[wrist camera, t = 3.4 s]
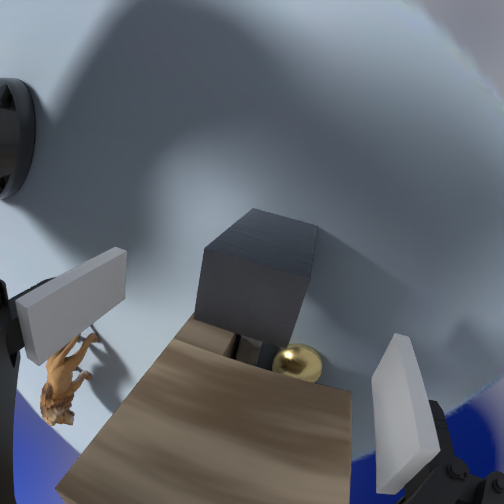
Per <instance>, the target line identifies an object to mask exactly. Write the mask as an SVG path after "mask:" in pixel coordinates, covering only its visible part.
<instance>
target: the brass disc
mask: <svg viewBox="0 0 504 504" xmlns="http://www.w3.org/2000/svg"><path fill="white" fill-rule="evenodd" d="M272 370H273V372H275V373H279V374H282V375H286V376H290V377H293V378H297V379H301V380H304V381H308V382H312V383H315V382H316V381H317V380H318V379H319V377H320V375H321V372H322V359H321V356H320V354H319V353H318V352H317V351H316V350H315V349H314V348H312V347H310V346H308V345H304V344H290V345H288V347H287V349H286V348H281V349H280V350H279V351H278V352H277V353H276V355H275V358H274V361H273V365H272Z"/></svg>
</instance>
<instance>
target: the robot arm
mask: <svg viewBox="0 0 504 504" xmlns="http://www.w3.org/2000/svg"><path fill="white" fill-rule="evenodd" d="M34 139H35V116H34V108H33V103H32V99H31V96H30V93H29V91H28V89H27V87H26V86H25V84H24V83H23V82H21V81H20V80H18V79H15V78H0V199H3V198H7V197H10V196H12V195H13V194H15V193H16V192H17V191H18V189H19V188H20V187H21V185H22V184H23V182H24V180H25V178H26V175H27V173H28V170H29V167H30V163H31V159H32V154H33V148H34ZM126 263H127V251H126V250H123V249H120V248H118V247H114V248H112V249H110V250H108V251H106V252H104V253H102V254H100V255H98V256H96V257H94V258H92V259H90V260H88V261H86V262H84V263H82V264H80V265H78V266H76V267H74V268H73V269H71V270H69V271H67V272H65V273H63V274H61V275H59V276H58V277H54V278H50V279H46V280H44V281H42V282H40V283H38V284H37V285H34V286H33V287H31V288H30V289H27V290H25V291H24V292H22V293H20V294H18V295H16V296H15V297H13V298H11V299H9V300H8V295H7V289H6V284H5V282H4V281H2V280H0V504H16V500H15V496H14V484H13V483H14V482H13V424H14V423H13V422H14V407H15V397H16V387H17V379H18V371H19V364H20V351H19V350H20V349H22V348H23V347H24V346H25V351H26V354H27V358H29V359H30V360H31V361H33V362H34V363H35V364H37V365H38V366H40V365H41V364H43V363H44V362H45V361H46V360H47V359H49V358H50V357H51V356H52V355H54V354H55V353H56V352H57V351H59V350H60V349H61V348H62V347H64V346H65V345H66V344H67V343H69V342H70V341H71V340H72V339H74V338H75V337H76V336H77V335H79V334H80V333H81V332H83V331H84V330H85V329H86V328H88V327H89V326H90V325H92V324H93V323H94V322H95V321H97V320H98V319H99V318H101V317H102V316H103V315H104V314H106V313H107V312H108V311H110V310H111V309H112V308H114V307H115V306H116V305H117V304H119V303H120V302H121V301H123V300H124V299H125V285H126ZM371 384H372V395H373V408H374V423H375V444H376V493H381V494H393V495H395V494H396V493H398V492H399V491H400V490H401V489H402V488H403V487H404V488H405V496H404V497H402V498H401V499H400V500H399V501H397V502H396V503H395V504H504V474H503V473H501V472H498V471H495V472H491V473H490V474H489V475H488V476H487V477H486V478H485V479H483V478H480V477H477V476H474V475H471V474H470V472H469V468H468V467H467V465H466V464H465V463H464V462H463V461H462V460H461V459H459V458H457V457H455V454H454V450H453V446H452V442H451V438H450V434H449V431H448V430H447V429H448V427H447V423H446V422H445V421H446V419H445V416H444V412H443V410H442V408H441V407H440V406H439V404H438V403H437V401H432V400H428V397H427V393H426V390H425V386H424V383H423V379H422V376H421V372H420V369H419V366H418V362H417V359H416V356H415V353H414V350H413V347H412V344H411V341H410V338H409V336H405V335H401V334H397V333H394V335H393V337H392V339H391V341H390V343H389V345H388V347H387V349H386V351H385V353H384V355H383V357H382V359H381V361H380V363H379V365H378V367H377V368H376V370H375V372H374V374H373V376H372V377H371Z"/></svg>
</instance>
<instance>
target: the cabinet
mask: <svg viewBox="0 0 504 504" xmlns="http://www.w3.org/2000/svg"><path fill="white" fill-rule="evenodd" d="M236 337H237V334H236V333H233V332H230V331H227V330H224V329H221V328H218V327H215V326H212V325H209V324H206V323H203V322H200V321H198V320H195V319H194V313H193V314H192V316H191V317H190V318H189V319H188V321H187V322H186V323H185V324H184V326H183V327H182V328H181V329H180V331H179V332H178V333H177V334H176V336H175V337H174V338H173V339H172V341H171V342H170V343H169V344H168V346H167V347H166V348H165V349H164V351H163V352H162V353H161V354H160V356H159V357H158V358H157V359H156V361H155V362H154V363H153V364H152V366H151V367H150V368H149V369H148V371H147V372H146V373H145V374H144V376H143V377H142V378H141V379H140V381H139V382H138V383H137V384H136V386H135V387H134V388H133V390H132V391H131V392H130V393H129V395H128V396H127V397H126V398H125V400H124V401H123V402H122V403H121V405H120V406H119V407H118V408H117V410H116V411H115V412H114V413H113V415H112V416H111V417H110V419H109V420H108V421H107V422H106V424H105V425H104V426H103V427H102V429H101V430H100V431H99V432H98V434H97V435H96V436H95V438H94V439H93V440H92V441H91V443H90V444H89V445H88V446H87V448H86V449H85V450H84V451H83V453H82V454H81V455H80V457H79V458H78V459H77V460H76V462H75V463H74V464H73V466H72V467H71V468H70V470H69V471H68V472H67V473H66V474H65V476H64V477H63V478H62V480H61V481H60V482H59V483H58V485H57V486H56V487H55V489H56V491H57V492H58V494H59V495H60V497H61V498H62V499H63V501H64V502H65V503H66V504H349V497H350V478H351V447H352V399H351V392H349V391H345V390H341V389H336V388H332V387H328V386H324V385H320V384H316V383H312V382H308V381H304V380H301V379H297V378H293V377H290V376H286V375H282V374H279V373H275V372H272V371H269V370H265V369H262V368H259V367H255V366H252V365H249V364H246V363H243V362H239V361H236V360H233V359H231V358H232V353H233V349H234V345H235V341H236Z"/></svg>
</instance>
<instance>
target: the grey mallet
mask: <svg viewBox="0 0 504 504" xmlns="http://www.w3.org/2000/svg"><path fill="white" fill-rule="evenodd" d="M317 228H318V226H316V225H312V224H309V223H305V222H302V221H298V220H294V219H291V218H287V217H283V216H280V215H276V214H272V213H269V212H265V211H261V210H257V209H254V208H253V209H252V210H250V211H249V212H248V213H247V214H245V215H244V216H243V217H242V218H241V219H239V220H238V221H237V222H236V223H234V224H233V225H232V226H231V227H230V228H228V229H227V230H226V231H225V232H223V233H222V234H221V235H220V236H219V237H217V238H216V239H215V240H214V241H213V242H211V243H210V244H209V245H208V246H207V247H205V248H204V254H203V261H202V267H201V273H200V279H199V286H198V292H197V299H196V305H195V312H194V319H195V320H198V321H200V322H203V323H206V324H209V325H212V326H215V327H218V328H221V329H224V330H227V331H230V332H233V333H236V334H240V335H241V339H240V343H239V347H238V352H237V356H236V361H239V362H243V363H246V364H249V365H252V366H255V367H256V364H257V360H258V357H259V354H260V350H261V347H262V344H263V342H265V343H269V344H272V345H275V346H279V347H282V348H286V349H287V347H288V344H289V341H290V338H291V335H292V332H293V329H294V326H295V323H296V320H297V318H298V315H299V312H300V308H301V305H302V302H303V299H304V296H305V293H306V290H307V287H308V284H309V281H310V276H311V270H312V263H313V256H314V249H315V242H316V235H317Z"/></svg>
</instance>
